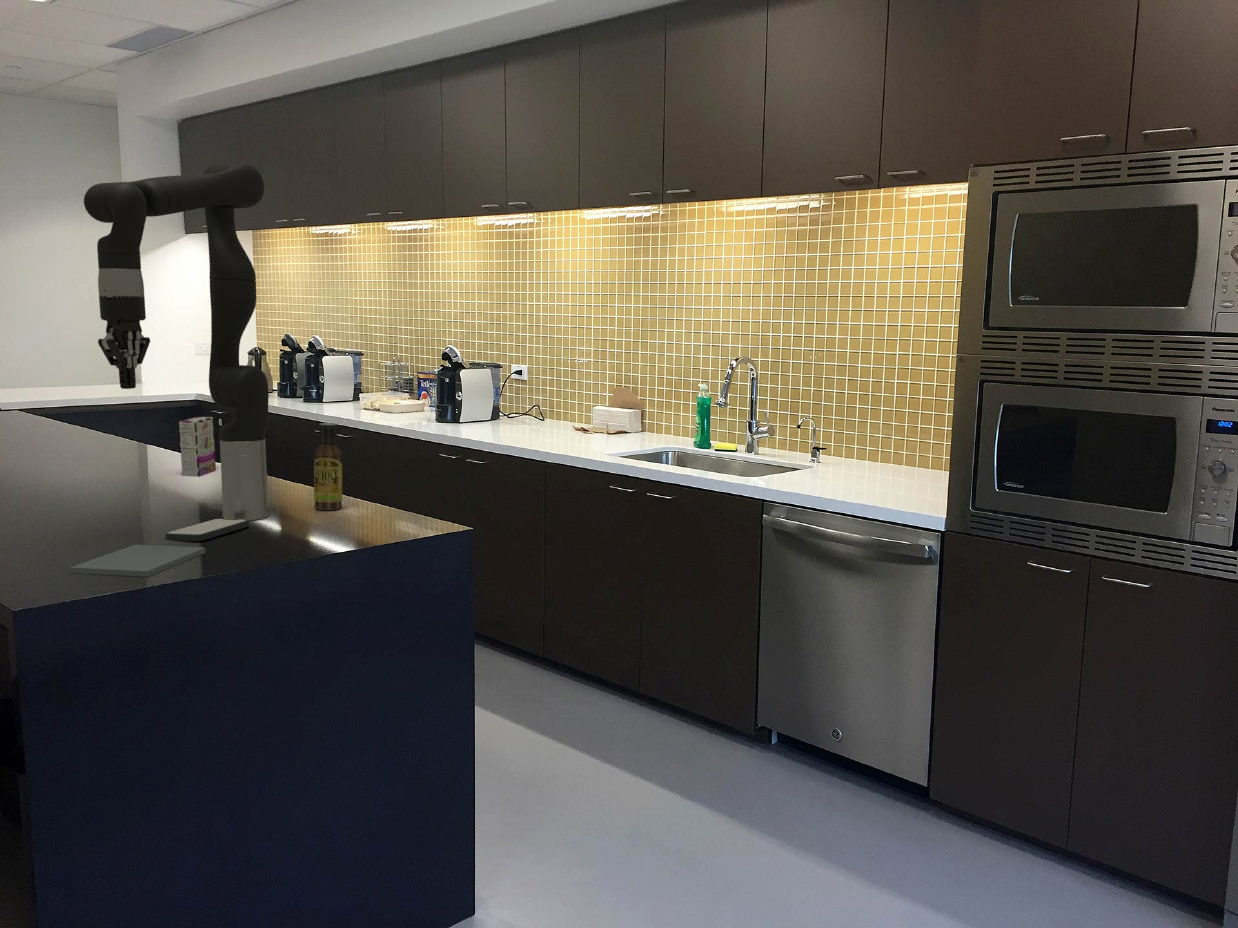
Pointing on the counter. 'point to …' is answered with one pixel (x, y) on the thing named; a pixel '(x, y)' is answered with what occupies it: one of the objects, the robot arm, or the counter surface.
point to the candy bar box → (197, 446)
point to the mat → (138, 560)
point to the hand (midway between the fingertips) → (128, 388)
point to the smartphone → (207, 530)
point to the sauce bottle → (328, 470)
